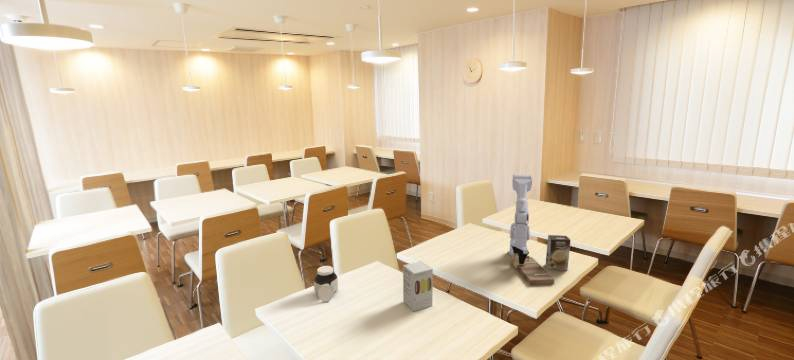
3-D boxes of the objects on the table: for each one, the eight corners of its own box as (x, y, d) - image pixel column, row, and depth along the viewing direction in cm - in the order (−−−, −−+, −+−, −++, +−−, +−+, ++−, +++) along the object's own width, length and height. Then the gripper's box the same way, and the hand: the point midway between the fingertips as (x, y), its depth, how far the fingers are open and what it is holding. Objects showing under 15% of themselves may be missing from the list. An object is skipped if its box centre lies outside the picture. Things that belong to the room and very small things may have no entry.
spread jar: (331, 286, 176) (329, 262, 173) (345, 294, 168) (344, 270, 165) (308, 295, 167) (306, 271, 165) (322, 305, 160) (321, 280, 157)
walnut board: (511, 262, 196) (511, 258, 196) (531, 261, 197) (532, 257, 196) (530, 285, 173) (530, 280, 172) (553, 284, 173) (554, 278, 173)
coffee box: (548, 270, 187) (551, 239, 184) (545, 264, 193) (547, 234, 190) (568, 270, 186) (570, 239, 183) (563, 264, 192) (566, 235, 189)
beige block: (512, 263, 192) (512, 253, 191) (526, 262, 193) (527, 252, 191) (515, 268, 187) (516, 257, 186) (530, 267, 188) (531, 256, 186)
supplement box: (413, 312, 153) (413, 273, 150) (402, 301, 161) (401, 264, 158) (433, 305, 158) (433, 268, 154) (421, 295, 166) (421, 260, 162)
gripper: (507, 231, 193) (506, 255, 196) (518, 241, 179) (516, 268, 182) (521, 230, 194) (519, 255, 197) (532, 241, 179) (531, 267, 182)
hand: (519, 261), depth 189 cm, fingers closed on beige block, 5 cm apart
